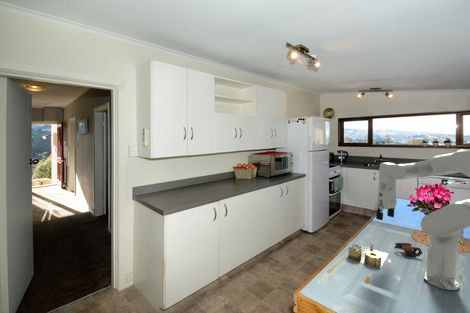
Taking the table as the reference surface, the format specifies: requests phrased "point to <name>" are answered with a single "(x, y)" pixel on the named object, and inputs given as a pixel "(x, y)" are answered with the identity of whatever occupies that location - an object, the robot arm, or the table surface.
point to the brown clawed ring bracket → (408, 249)
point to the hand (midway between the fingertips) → (385, 218)
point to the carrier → (359, 254)
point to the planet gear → (373, 258)
